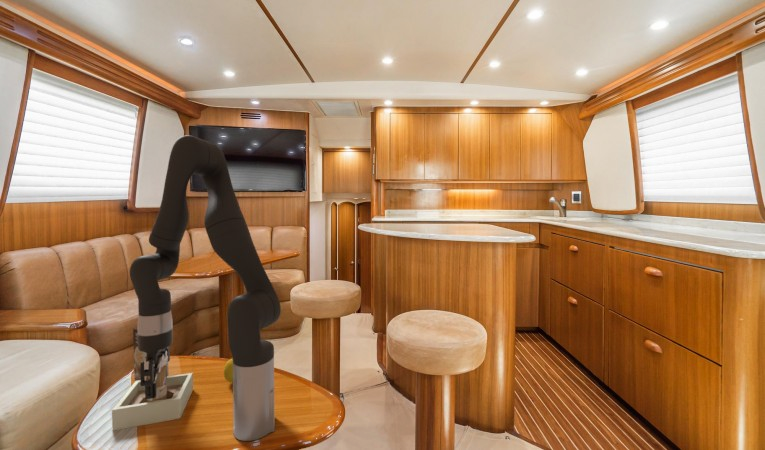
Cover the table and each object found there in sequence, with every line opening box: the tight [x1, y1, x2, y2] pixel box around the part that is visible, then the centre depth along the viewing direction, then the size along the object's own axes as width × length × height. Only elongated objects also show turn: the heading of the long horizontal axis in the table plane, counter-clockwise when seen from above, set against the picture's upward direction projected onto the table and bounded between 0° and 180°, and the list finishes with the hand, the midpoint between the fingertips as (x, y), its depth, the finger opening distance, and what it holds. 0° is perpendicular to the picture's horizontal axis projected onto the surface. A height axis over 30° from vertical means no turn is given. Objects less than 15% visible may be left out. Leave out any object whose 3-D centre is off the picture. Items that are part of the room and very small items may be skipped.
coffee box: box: [132, 326, 169, 381], centre depth 100 cm, size 9×6×16 cm
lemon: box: [223, 357, 233, 384], centre depth 97 cm, size 6×6×8 cm
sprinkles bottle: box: [147, 356, 167, 402], centre depth 84 cm, size 5×5×13 cm
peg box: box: [111, 372, 194, 431], centre depth 84 cm, size 14×14×5 cm
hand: (156, 389), depth 84 cm, fingers open, 8 cm apart
